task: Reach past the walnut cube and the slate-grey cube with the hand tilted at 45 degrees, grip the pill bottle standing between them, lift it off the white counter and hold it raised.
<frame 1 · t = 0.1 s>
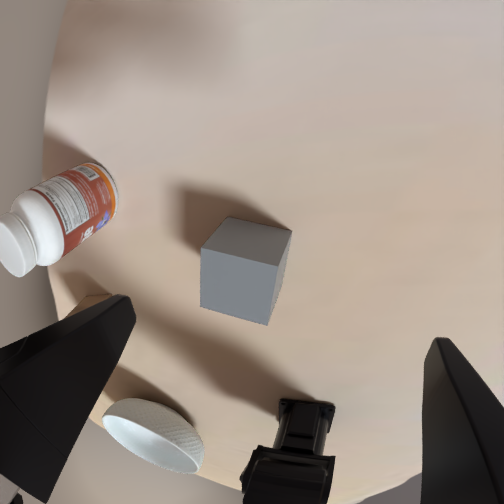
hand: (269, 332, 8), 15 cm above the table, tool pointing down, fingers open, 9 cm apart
pill bottle: (97, 191, 27), on the table
slate-grey cube: (255, 251, 25), on the table
cereal bowl: (166, 414, 45), on the table
walnut cube: (108, 311, 35), on the table
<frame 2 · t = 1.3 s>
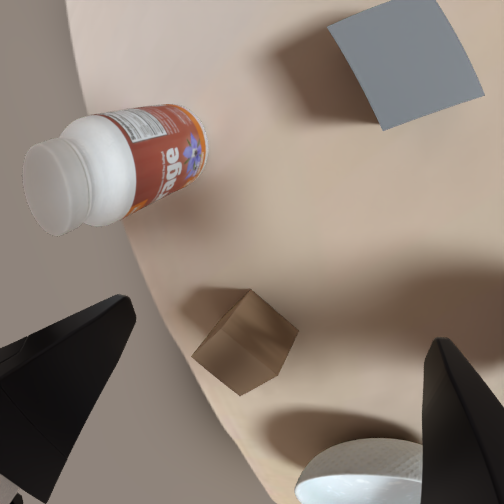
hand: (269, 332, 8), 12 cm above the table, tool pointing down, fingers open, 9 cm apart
pill bottle: (176, 144, 21), on the table
slate-grey cube: (402, 69, 14), on the table
cereal bowl: (383, 452, 28), on the table
walnut cube: (257, 324, 26), on the table
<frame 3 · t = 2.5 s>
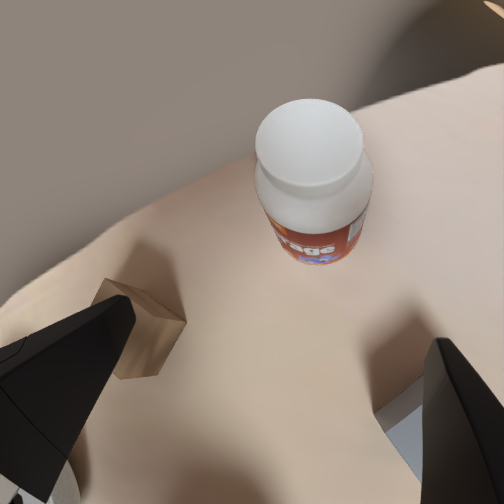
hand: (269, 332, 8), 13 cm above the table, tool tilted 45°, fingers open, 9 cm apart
pill bottle: (319, 227, 23), on the table
slate-grey cube: (419, 416, 17), on the table
cereal bowl: (49, 466, 23), on the table
walnut cube: (149, 332, 24), on the table
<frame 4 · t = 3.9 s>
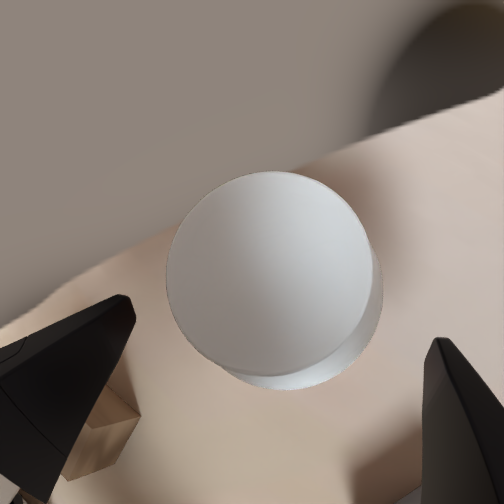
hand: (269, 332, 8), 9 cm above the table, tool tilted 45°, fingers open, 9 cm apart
pill bottle: (303, 314, 17), on the table
walnut cube: (102, 418, 18), on the table
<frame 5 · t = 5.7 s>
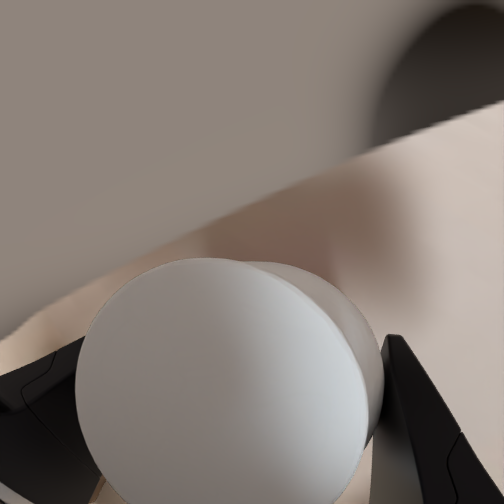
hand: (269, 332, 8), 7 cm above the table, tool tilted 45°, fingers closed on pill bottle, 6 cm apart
pill bottle: (290, 364, 14), on the table, touching gripper
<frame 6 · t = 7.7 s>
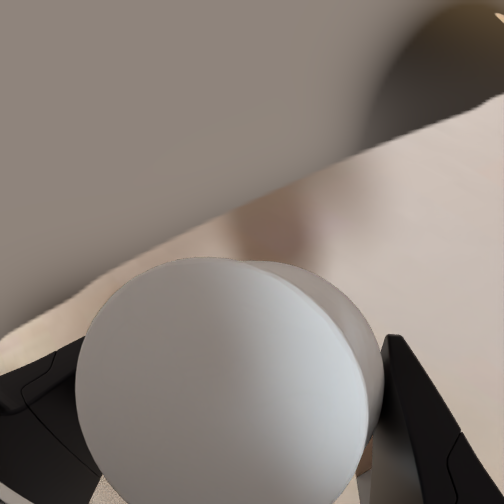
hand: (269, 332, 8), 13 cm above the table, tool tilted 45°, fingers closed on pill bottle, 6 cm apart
pill bottle: (290, 363, 14), point 6 cm above the table, touching gripper
slate-grey cube: (401, 479, 16), on the table
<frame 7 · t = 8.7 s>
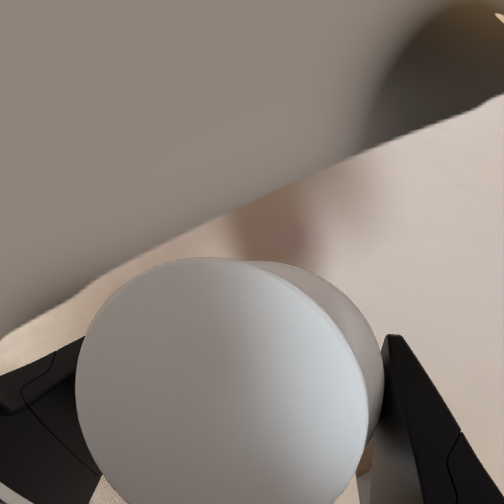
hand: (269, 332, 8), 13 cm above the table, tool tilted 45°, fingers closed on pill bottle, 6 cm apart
pill bottle: (290, 363, 14), point 6 cm above the table, touching gripper
slate-grey cube: (401, 479, 16), on the table
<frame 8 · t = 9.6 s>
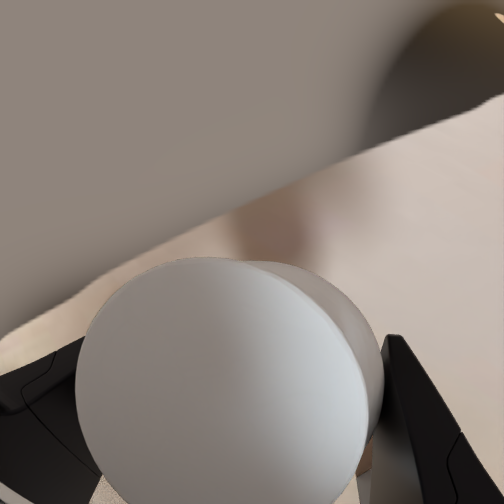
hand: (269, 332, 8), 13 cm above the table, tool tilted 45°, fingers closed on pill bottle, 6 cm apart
pill bottle: (290, 363, 14), point 6 cm above the table, touching gripper
slate-grey cube: (401, 479, 16), on the table
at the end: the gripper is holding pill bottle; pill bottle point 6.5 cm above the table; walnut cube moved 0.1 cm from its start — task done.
